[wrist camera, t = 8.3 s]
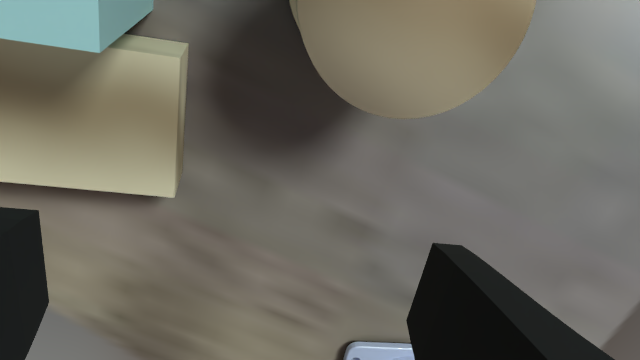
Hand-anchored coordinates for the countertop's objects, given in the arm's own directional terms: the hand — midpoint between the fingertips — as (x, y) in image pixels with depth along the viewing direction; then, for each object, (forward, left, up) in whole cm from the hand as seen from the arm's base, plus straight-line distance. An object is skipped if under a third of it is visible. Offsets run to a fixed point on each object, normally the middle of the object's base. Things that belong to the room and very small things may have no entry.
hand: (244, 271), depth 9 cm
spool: (+5, -4, -10) cm, 11 cm away
